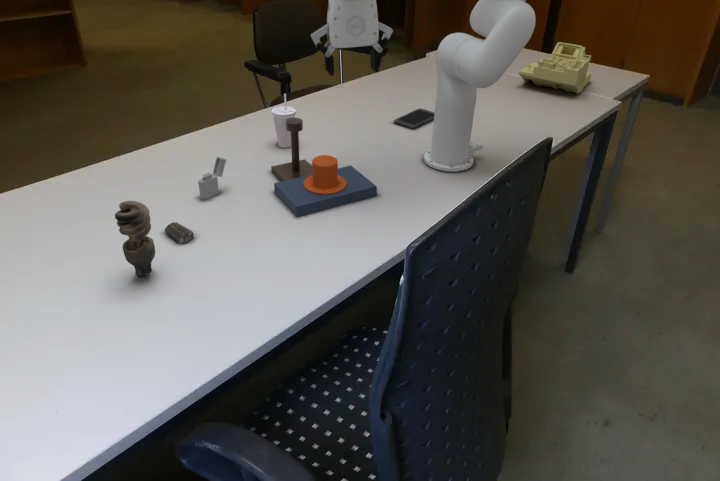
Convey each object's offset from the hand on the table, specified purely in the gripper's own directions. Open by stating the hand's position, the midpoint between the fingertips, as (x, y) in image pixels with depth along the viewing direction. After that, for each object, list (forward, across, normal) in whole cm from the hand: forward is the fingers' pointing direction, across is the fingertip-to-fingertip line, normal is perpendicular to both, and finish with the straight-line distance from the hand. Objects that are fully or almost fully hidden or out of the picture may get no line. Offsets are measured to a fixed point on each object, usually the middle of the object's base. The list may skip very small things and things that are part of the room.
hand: (352, 71), depth 124 cm
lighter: (+25, -32, +1) cm, 41 cm away
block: (+25, -41, -16) cm, 50 cm away
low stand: (+26, -8, -5) cm, 28 cm away
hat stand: (+26, -13, +5) cm, 29 cm away
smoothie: (+26, -12, +24) cm, 37 cm away
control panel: (+30, +87, +53) cm, 106 cm away
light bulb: (+25, -47, -27) cm, 60 cm away
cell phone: (+28, +28, +33) cm, 52 cm away
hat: (+23, -8, -5) cm, 25 cm away
